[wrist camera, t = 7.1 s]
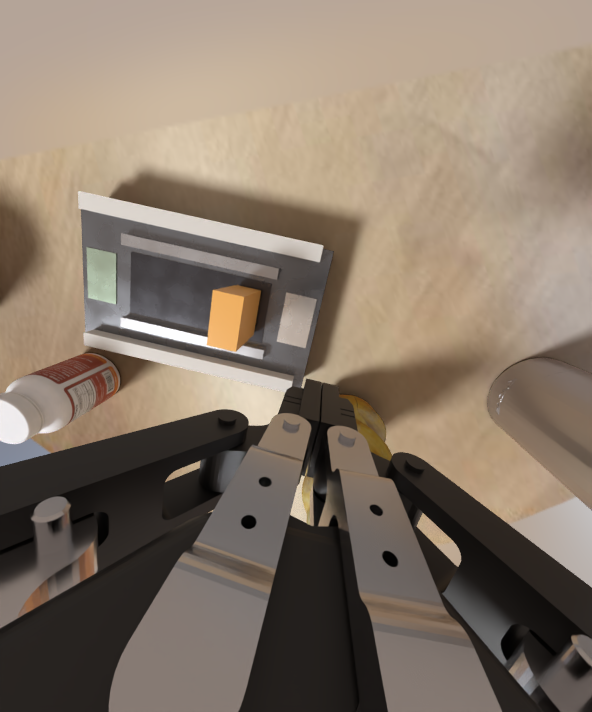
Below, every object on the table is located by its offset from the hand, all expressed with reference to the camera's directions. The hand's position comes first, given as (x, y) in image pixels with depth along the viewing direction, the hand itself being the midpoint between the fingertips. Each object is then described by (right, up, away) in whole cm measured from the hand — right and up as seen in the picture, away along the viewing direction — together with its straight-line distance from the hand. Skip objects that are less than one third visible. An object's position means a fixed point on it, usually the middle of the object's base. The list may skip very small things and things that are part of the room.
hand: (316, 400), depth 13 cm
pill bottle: (-26, 0, +22) cm, 34 cm away
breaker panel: (-10, +9, +18) cm, 22 cm away
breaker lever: (-6, +7, +14) cm, 17 cm away
